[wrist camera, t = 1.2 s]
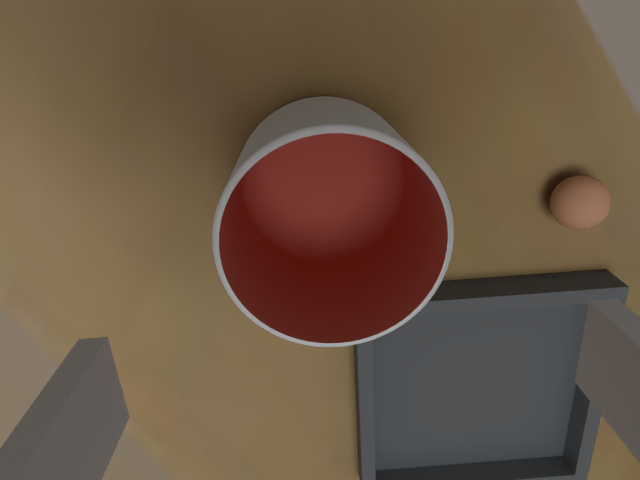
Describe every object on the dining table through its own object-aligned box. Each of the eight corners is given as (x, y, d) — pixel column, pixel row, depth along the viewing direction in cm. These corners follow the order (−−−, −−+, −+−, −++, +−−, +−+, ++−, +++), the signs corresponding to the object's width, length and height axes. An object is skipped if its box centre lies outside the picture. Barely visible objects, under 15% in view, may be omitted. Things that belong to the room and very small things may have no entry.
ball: (543, 170, 29) (570, 186, 27) (595, 167, 30) (628, 182, 27) (537, 220, 31) (562, 240, 28) (587, 216, 31) (617, 236, 28)
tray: (351, 288, 32) (355, 306, 30) (606, 269, 32) (628, 286, 30) (359, 474, 39) (362, 501, 37) (569, 458, 39) (585, 483, 37)
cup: (354, 57, 27) (384, 71, 17) (433, 204, 30) (492, 281, 21) (204, 152, 28) (159, 211, 19) (296, 281, 32) (295, 383, 23)
